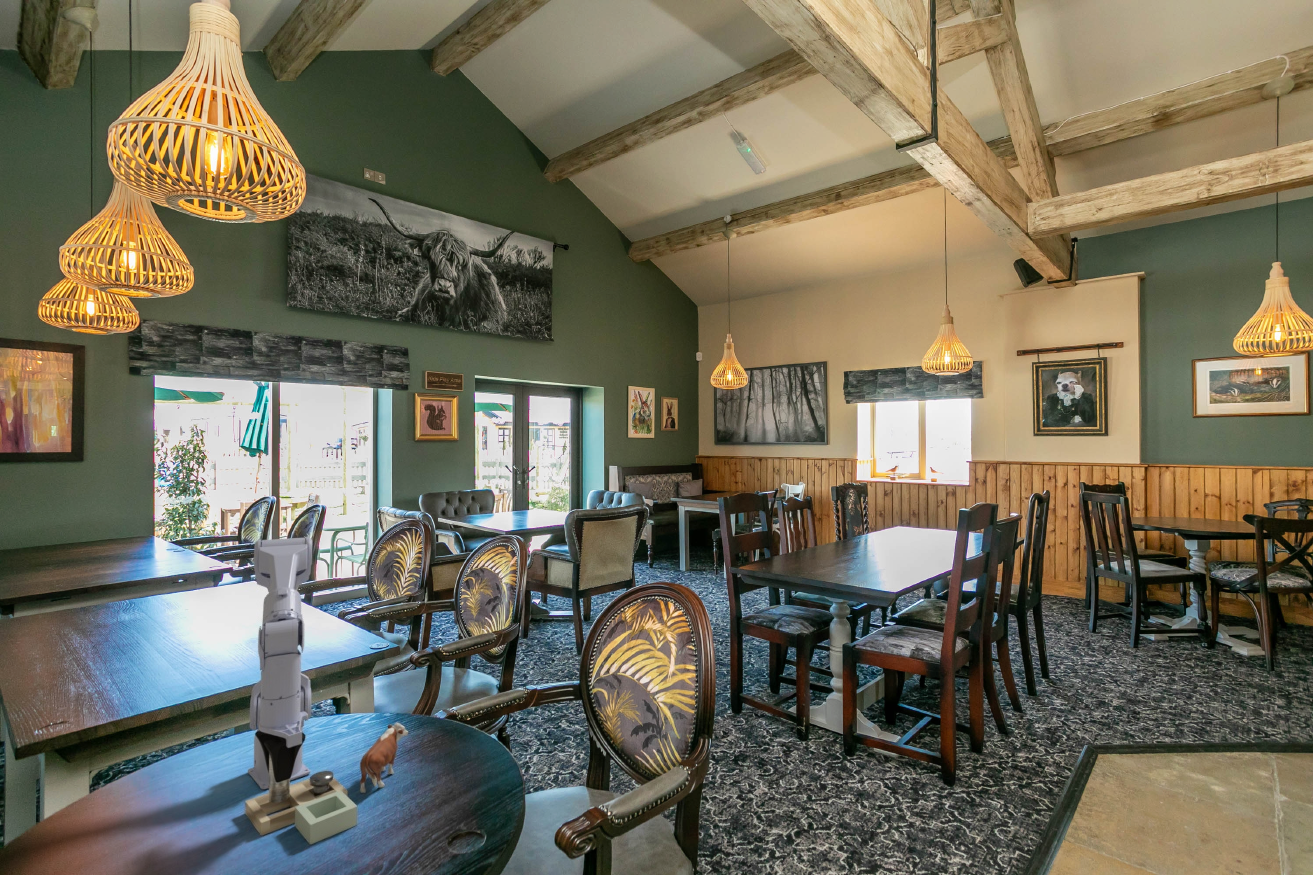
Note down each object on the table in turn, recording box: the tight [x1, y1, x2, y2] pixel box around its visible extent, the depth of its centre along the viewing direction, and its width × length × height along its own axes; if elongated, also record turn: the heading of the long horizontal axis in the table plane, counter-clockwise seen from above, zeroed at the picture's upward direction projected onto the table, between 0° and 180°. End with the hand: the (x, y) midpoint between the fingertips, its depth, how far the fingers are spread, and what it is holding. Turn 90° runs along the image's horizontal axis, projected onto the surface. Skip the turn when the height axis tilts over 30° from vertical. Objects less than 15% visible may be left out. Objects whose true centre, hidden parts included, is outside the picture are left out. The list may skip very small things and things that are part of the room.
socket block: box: [244, 776, 348, 836], centre depth 107 cm, size 9×13×2 cm
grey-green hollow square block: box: [294, 790, 358, 845], centre depth 102 cm, size 7×7×3 cm
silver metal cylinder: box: [268, 754, 291, 803], centre depth 104 cm, size 3×3×8 cm
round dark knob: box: [309, 770, 334, 797], centre depth 109 cm, size 4×4×4 cm
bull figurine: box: [359, 722, 409, 794], centre depth 117 cm, size 4×13×8 cm, turn 174°
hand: (279, 775), depth 104 cm, fingers closed on silver metal cylinder, 3 cm apart
